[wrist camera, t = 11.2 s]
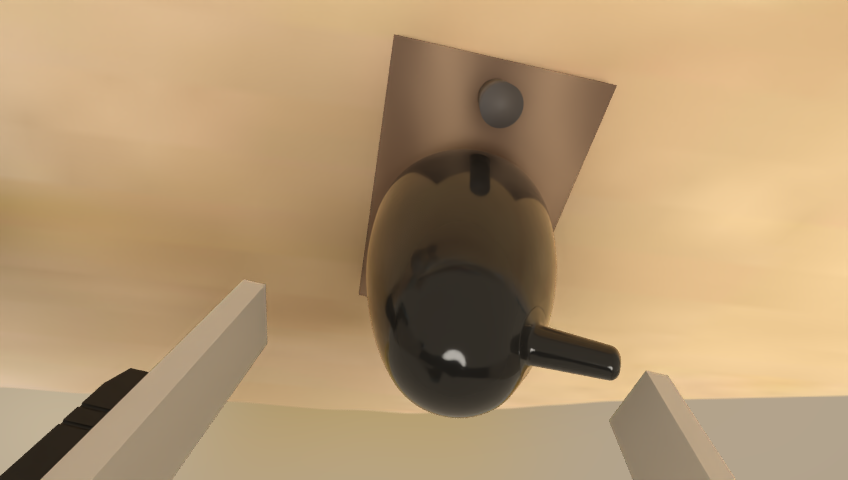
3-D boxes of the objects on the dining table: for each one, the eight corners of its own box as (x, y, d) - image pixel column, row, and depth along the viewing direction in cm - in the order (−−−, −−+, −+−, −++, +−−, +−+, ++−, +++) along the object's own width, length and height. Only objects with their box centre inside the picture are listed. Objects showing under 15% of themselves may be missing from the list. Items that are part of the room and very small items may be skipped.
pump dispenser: (541, 266, 25) (622, 498, 12) (404, 276, 27) (341, 486, 14) (539, 124, 21) (668, 237, 7) (376, 147, 23) (240, 272, 9)
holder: (363, 284, 30) (338, 336, 24) (398, 36, 21) (372, 25, 15) (508, 318, 30) (518, 380, 24) (607, 84, 21) (660, 91, 15)
